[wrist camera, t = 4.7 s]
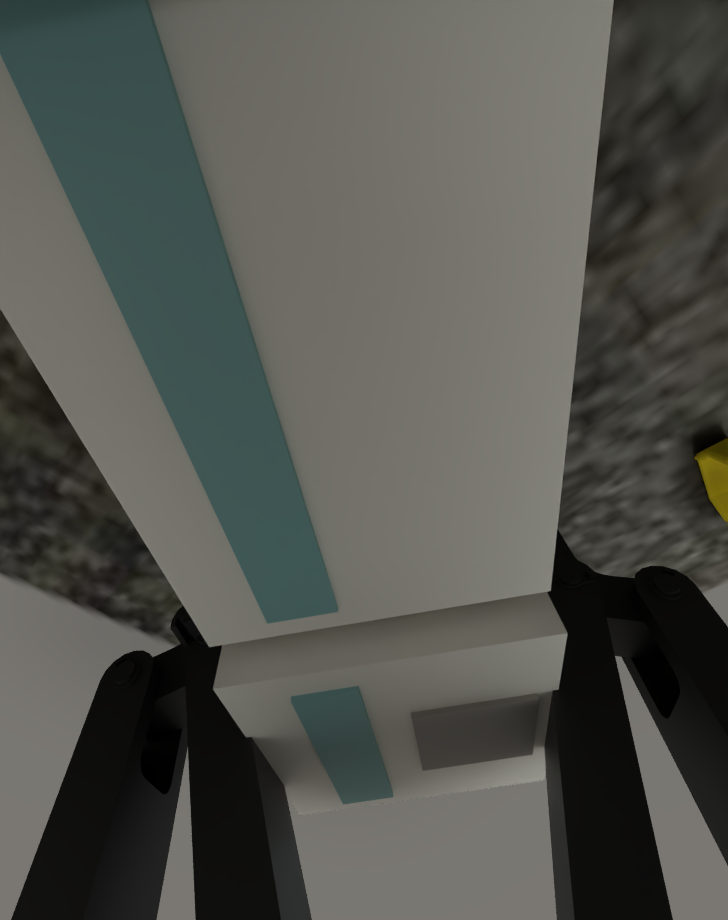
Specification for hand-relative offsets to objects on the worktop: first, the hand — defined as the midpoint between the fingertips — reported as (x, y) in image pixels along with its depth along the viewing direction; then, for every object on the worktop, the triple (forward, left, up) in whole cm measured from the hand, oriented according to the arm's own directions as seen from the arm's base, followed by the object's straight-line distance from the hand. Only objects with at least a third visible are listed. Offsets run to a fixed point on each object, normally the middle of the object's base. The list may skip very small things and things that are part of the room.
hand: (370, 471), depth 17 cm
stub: (0, 0, 0) cm, 0 cm away
